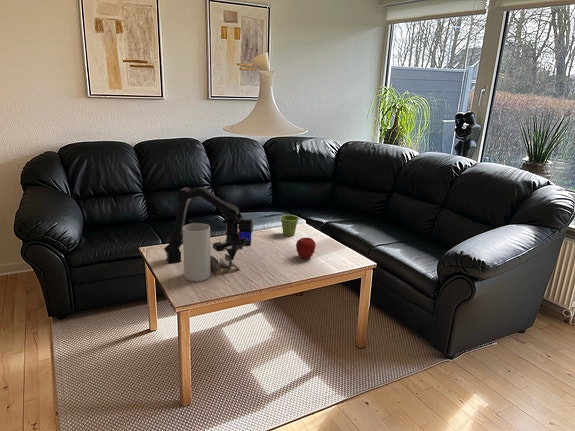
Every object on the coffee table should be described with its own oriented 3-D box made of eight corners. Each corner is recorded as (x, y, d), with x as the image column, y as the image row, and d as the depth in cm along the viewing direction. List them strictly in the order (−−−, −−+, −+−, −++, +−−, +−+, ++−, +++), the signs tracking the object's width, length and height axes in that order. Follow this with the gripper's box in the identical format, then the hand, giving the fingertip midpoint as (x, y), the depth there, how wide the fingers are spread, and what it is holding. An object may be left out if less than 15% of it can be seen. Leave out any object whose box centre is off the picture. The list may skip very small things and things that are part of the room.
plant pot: (275, 234, 269) (276, 217, 266) (287, 230, 278) (288, 213, 274) (290, 239, 262) (290, 221, 258) (301, 234, 270) (302, 217, 267)
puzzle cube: (239, 248, 244) (240, 231, 241) (227, 243, 250) (227, 227, 247) (251, 243, 252) (251, 227, 249) (239, 239, 257) (239, 223, 255)
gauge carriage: (227, 270, 210) (227, 262, 209) (219, 263, 218) (219, 255, 217) (235, 269, 212) (235, 260, 211) (226, 262, 220) (226, 253, 219)
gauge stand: (215, 275, 207) (215, 264, 205) (206, 266, 217) (205, 255, 215) (239, 270, 214) (239, 259, 212) (229, 262, 223) (229, 251, 222)
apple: (304, 252, 242) (306, 232, 238) (319, 258, 235) (320, 238, 231) (291, 256, 234) (292, 236, 231) (305, 262, 227) (306, 242, 224)
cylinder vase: (212, 280, 202) (211, 230, 195) (185, 283, 198) (183, 232, 191) (209, 270, 213) (208, 222, 206) (183, 272, 210) (181, 223, 202)
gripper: (221, 238, 202) (221, 269, 207) (256, 233, 212) (255, 262, 216) (212, 231, 211) (212, 261, 216) (246, 226, 221) (245, 254, 225)
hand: (232, 260), depth 218 cm, fingers closed
